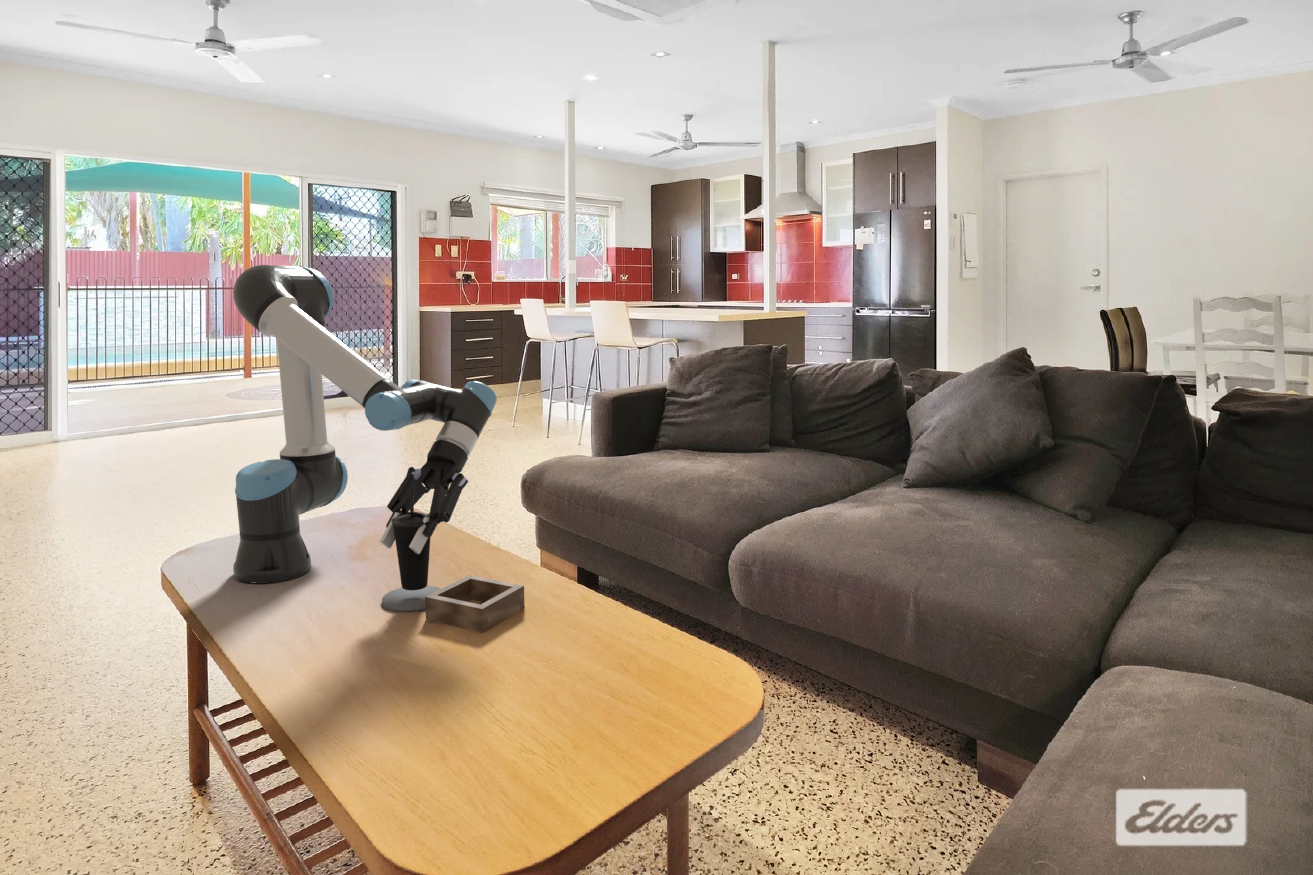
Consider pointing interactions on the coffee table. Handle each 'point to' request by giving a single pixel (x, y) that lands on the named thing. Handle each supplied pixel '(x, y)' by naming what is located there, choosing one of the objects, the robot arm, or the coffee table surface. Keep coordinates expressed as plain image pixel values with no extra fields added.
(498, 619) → the wooden square tray
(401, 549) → the drinking cup
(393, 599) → the coaster
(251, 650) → the coffee table surface
